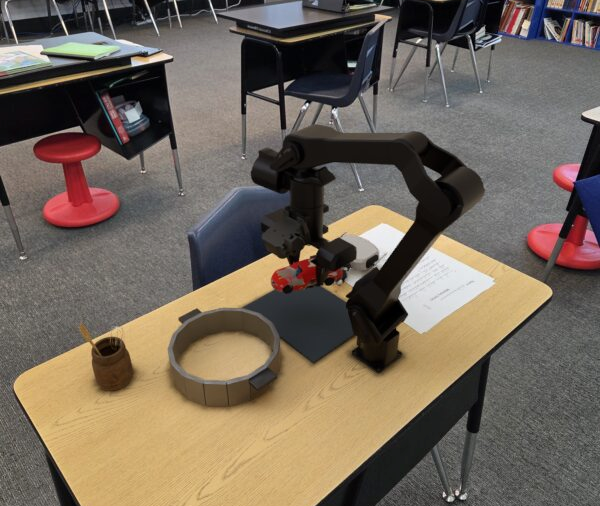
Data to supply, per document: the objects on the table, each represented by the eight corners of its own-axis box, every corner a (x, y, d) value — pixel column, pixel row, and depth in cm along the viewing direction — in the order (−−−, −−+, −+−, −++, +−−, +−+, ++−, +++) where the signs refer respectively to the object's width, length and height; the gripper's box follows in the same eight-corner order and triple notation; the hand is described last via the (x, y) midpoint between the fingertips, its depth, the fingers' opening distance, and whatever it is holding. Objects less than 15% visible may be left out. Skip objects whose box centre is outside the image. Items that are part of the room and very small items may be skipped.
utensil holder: (132, 389, 88) (119, 333, 81) (92, 394, 87) (75, 338, 81) (135, 363, 93) (123, 308, 86) (97, 367, 92) (82, 312, 86)
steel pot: (310, 373, 91) (310, 351, 88) (221, 435, 80) (218, 412, 78) (230, 310, 105) (228, 289, 102) (145, 355, 94) (141, 334, 92)
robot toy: (339, 298, 109) (389, 265, 117) (339, 280, 107) (389, 248, 114) (299, 271, 117) (348, 242, 125) (298, 254, 114) (348, 226, 122)
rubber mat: (374, 321, 102) (374, 320, 102) (313, 363, 93) (313, 362, 92) (302, 275, 114) (302, 274, 114) (242, 308, 105) (241, 307, 105)
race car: (274, 297, 95) (273, 279, 93) (267, 279, 100) (266, 261, 97) (345, 284, 98) (346, 266, 96) (335, 268, 103) (336, 250, 100)
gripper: (234, 198, 91) (240, 273, 100) (310, 240, 80) (310, 321, 88) (283, 178, 98) (285, 250, 106) (361, 214, 86) (356, 293, 94)
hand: (306, 277), depth 98 cm, fingers closed on race car, 6 cm apart
